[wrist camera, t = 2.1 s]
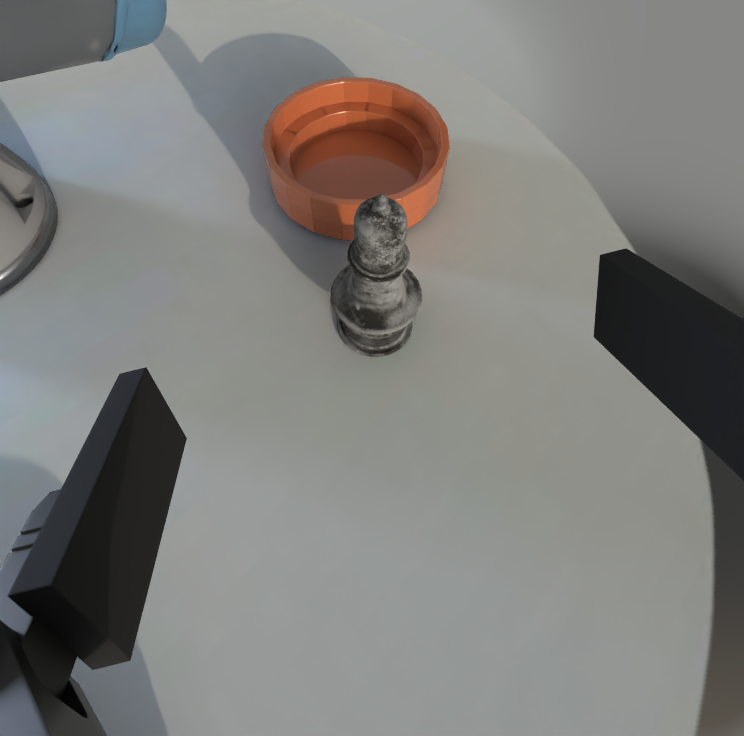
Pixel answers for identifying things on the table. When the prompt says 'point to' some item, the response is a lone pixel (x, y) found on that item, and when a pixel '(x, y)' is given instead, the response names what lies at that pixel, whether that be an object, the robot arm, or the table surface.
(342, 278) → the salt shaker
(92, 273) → the table surface
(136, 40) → the robot arm
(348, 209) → the bowl
